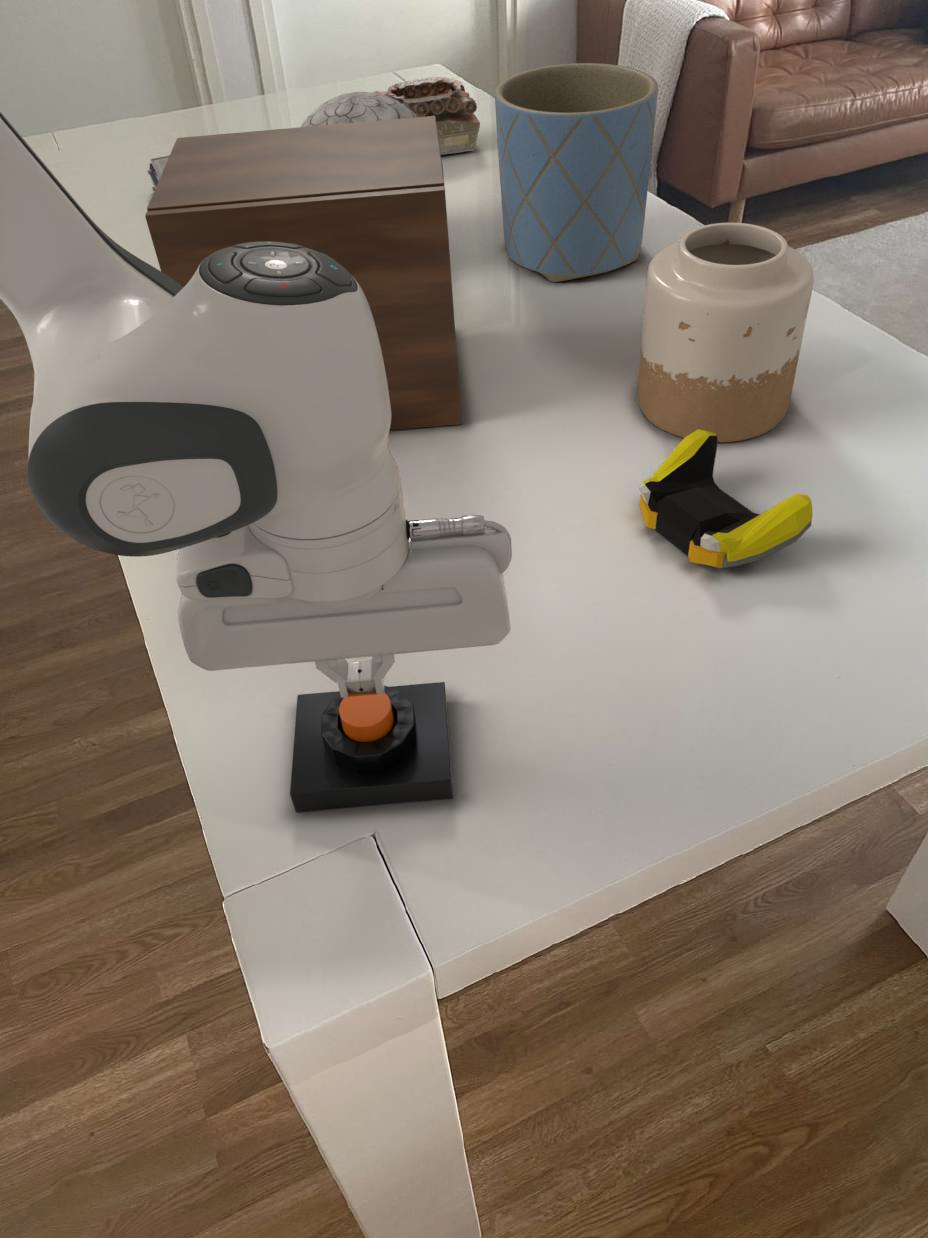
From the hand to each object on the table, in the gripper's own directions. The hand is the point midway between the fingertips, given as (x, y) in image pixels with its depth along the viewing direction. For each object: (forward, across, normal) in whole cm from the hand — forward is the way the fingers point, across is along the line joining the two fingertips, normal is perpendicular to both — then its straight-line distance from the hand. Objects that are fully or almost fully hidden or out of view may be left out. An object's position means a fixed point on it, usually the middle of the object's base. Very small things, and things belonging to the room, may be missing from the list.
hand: (363, 688), depth 66 cm
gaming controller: (+8, -30, -22) cm, 38 cm away
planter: (+8, -26, -80) cm, 84 cm away
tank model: (+8, -7, -120) cm, 120 cm away
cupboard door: (+7, +4, -39) cm, 40 cm away
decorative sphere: (+7, 0, -84) cm, 84 cm away
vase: (+8, -35, -42) cm, 55 cm away
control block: (+7, 0, 0) cm, 7 cm away
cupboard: (+7, +4, -52) cm, 53 cm away
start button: (+4, 0, 0) cm, 4 cm away
